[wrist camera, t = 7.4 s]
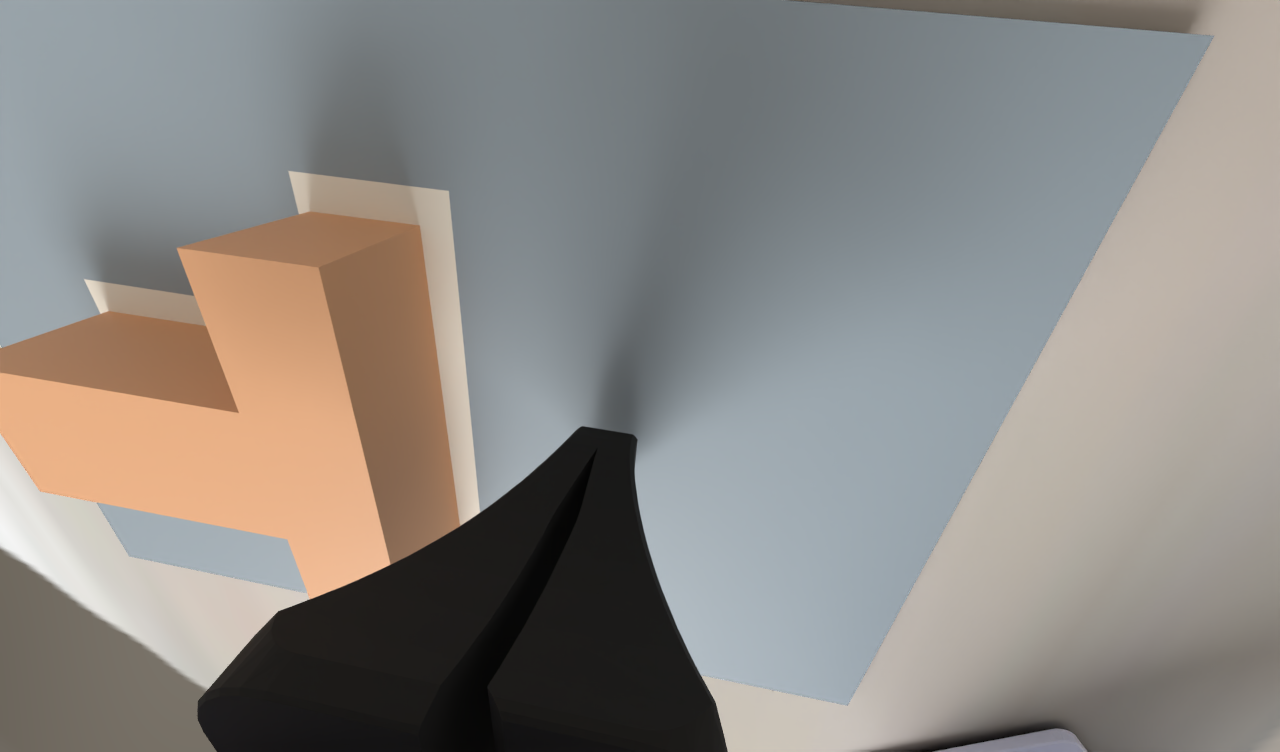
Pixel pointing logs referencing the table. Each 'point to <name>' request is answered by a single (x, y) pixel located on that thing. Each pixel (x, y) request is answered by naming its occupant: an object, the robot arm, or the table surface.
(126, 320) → the t block
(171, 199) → the board
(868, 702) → the table surface
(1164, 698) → the table surface
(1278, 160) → the table surface
